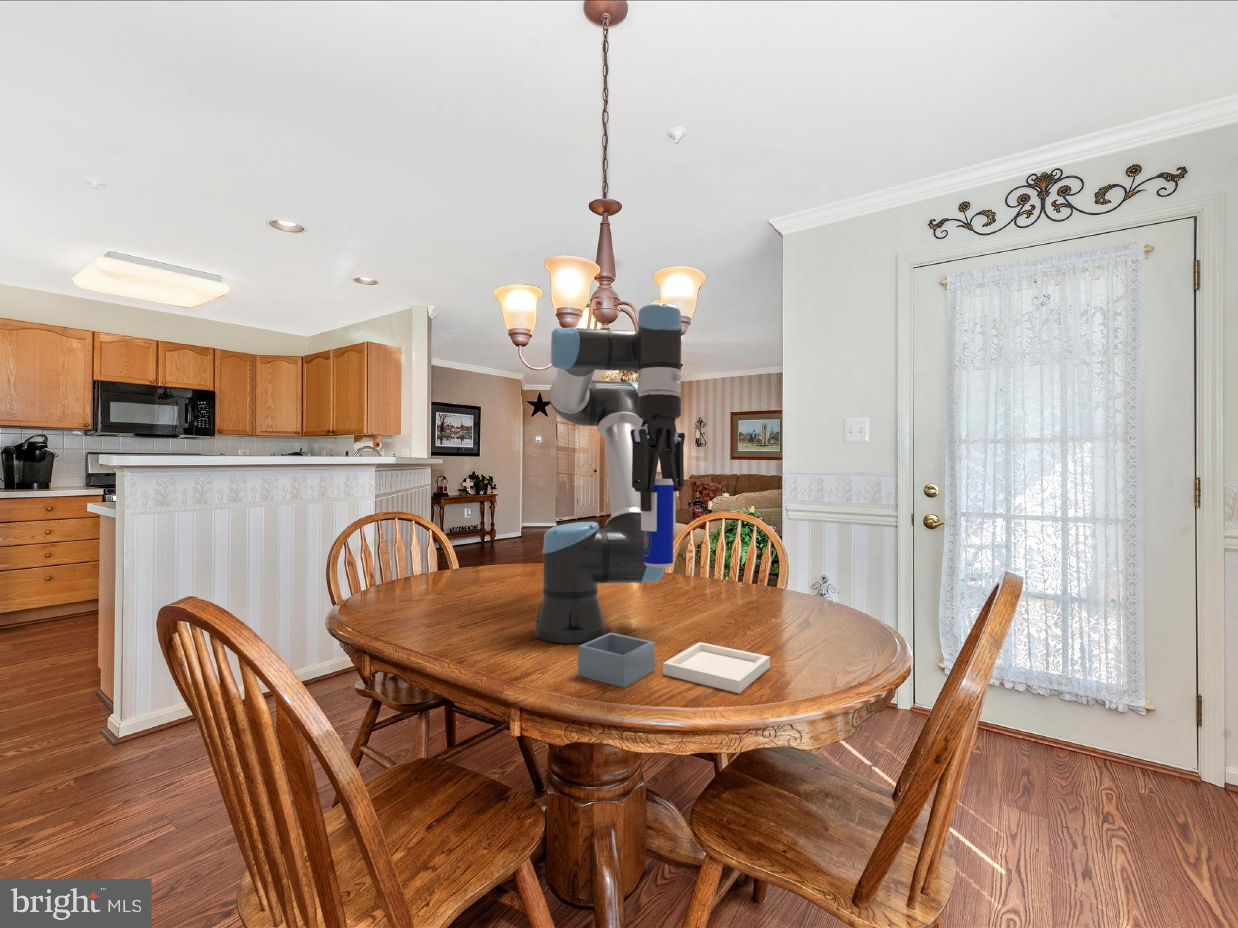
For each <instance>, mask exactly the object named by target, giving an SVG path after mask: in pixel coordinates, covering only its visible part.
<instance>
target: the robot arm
mask: <svg viewBox="0 0 1238 928" xmlns="http://www.w3.org/2000/svg"><path fill="white" fill-rule="evenodd" d="M681 312H682V311H681V310H680V309H679V307H677V306H676V305H674V304H670V303H651V304H647V305H646V304H645V305H644V306H642V307H641V308H639V311H638V316H637V323H636V326H637V330H627V329H626V330H622V329H621V330H620V329H602V328H601V329H598V328H584V327H583V328H581V327H580V328H579V327H573V326H570V327H557V328H554V329H553V330H552V332H551V339H550V340H551V341H550V363H551V366H552V367H553V368H555V369H557V371H556V372H557V373H556V378H555V380H554V381H553V383H552V384H551V386H550V389H549V393H548V394H549V395H548V396H549V398H548V399H549V403H550V405H551V407H552V409H553V410H554V412H556V414H557V415H558V416H560V417H561V418H562V419H564V420H565V421H566V422H569V423H571V424H574V425H578V426H582V427H583V426H584V427H586V426H587V427H597V431H598V434H599V435H600V436H601V437H602V438H603V439H604V446H605V457H606V458H605V459H606V467H607V468H606V469H607V480H608V481H607V482H608V492H609V506H610V507H609V508H610V518H608V519H607V521H606V522H605V524H604V525H605V526H604V527H605V528H600V526H599V523H598V522H595V521H578V522H577V521H576V522H569V523H565V524H564V523H563V524H559V525H556V526H553V527H550V528H548V529H547V530H546V531H545V533H544V536H543V549H542V552H541V553H542V554H543V566H542V567H543V569H542V570H543V576H542V577H543V580H542V582H543V583H542V600H541V603H540V605H539V608H538V612H537V615H536V619H535V621H534V628H533V629H534V636H535V638H537V639H539V640H542V641H545V642H550V643H556V644H557V643H558V644H583V643H587V642H589V641H592V640H594V639H596V638H599V637H601V636H603V635H606V628H607V627H606V626H607V625H606V620H605V618H604V614H603V610H602V606H601V604H600V603H601V602H600V600H599V596H598V586H599V584H622V583H623V584H626V583H627V584H629V583H630V584H632V583H634V584H635V583H640V584H644V583H650V582H657V581H659V580H660V579H661V578H662V577H663V575H664V573H665V570H666V567H661V568H658V567H648V566H646V565H645V564H644V562H643V536H644V531H657V493H655V492H653V490H654V485H655V479H657V478H656V477H657V470H658V467H659V466H658V465H660V472H661V473H660V475H661V479H672V481H673V485H674V490H673V530H674V529H675V530H676V522H677V521H676V520H677V519H676V515H677V514H676V513H677V512H676V510H677V509H676V507H677V492H682V490H683V487H684V485H685V483H684V481H685V479H684V478H685V476H684V474H685V471H684V470H685V469H684V468H685V467H684V461H685V459H684V446H685V439H686V434H685V432H679V431H677V427H676V419H680V417H681V415H682V398H681V397H680V395H679V394H681V392H682V389H681V388H682V384H681V380H682V374H681V370H682V330H683V325H682V314H681ZM595 371H624V372H625V371H626V372H627V371H628V372H629V371H630V372H632V373H635V374H637V382H636V381H629V380H623V381H611V380H592V379H593V377H594V374H595Z"/></svg>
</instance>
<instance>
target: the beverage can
mask: <svg viewBox="0 0 1238 928" xmlns="http://www.w3.org/2000/svg"><path fill="white" fill-rule="evenodd" d="M673 490H674V485H673V481H672V479H662V478H655V485H654V490H653V492H655V493H657V531H644V536H643V562H644V564H645V565H646V566H648V567H658V568H661V567H665V568H669V567H672V565H673V563H674V529H673Z"/></svg>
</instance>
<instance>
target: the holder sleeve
mask: <svg viewBox="0 0 1238 928" xmlns="http://www.w3.org/2000/svg"><path fill="white" fill-rule="evenodd" d="M655 645H656V642H655V641H650V640H646V639H642V638H638V637H633V636H629V635H624V634H619V633H615V632H608V633H605V635H603V636H601V637H599V638H596V639H594V640H592V641H589V642H584V643H581V644H580V645H577V648H578V649H577V676H579V677H583V678H587V679H590V680H594V681H598V682H601V683H605V684H609V685H612V686H615V687H619V688H623V689H625V688H627V687H629V686H630V685H632V684H634V683H636V682H637V681H639V680H641V679H642V678H644V677H646V676H647V675H649V674H651V673H652V672H654V671H655V664H656V662H655V656H656V655H655V654H656V653H655V651H656V650H655V649H656V646H655Z"/></svg>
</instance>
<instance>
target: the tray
mask: <svg viewBox="0 0 1238 928" xmlns="http://www.w3.org/2000/svg"><path fill="white" fill-rule="evenodd" d="M662 664H663V665H662V670H663V671H662V674H663V675H664V676H667V677H672V678H676V679H678V680H679V679H680V680H683V681H688V682H691V683H692V682H693V683H696V684H700V685H704V686H708V687H712V688H716V689H720V690H725V691H727V692H731V693H736V694H738V695H739V694H741V693H742V692H743V691H744V690H746V689H747V688H748V687H750V685H751V684H753V683H754V682H755V681H756V680H757V679H758V678H759V677H761V676H762V675H763V674H765V672H766V671H768V670H769V669H770V668H771V656H769V655H766V654H761V653H754V652H749V651H745V650H739V649H734V648H730V647H725V646H722V645H721V646H720V645H717V644H716V645H715V644H710V643H706V642H701V641H699V642H697V643H695V644H693V645H692V646H690V647H688V648H687V649H685V650H683V651H681V652H679V653H677V654H676V655H675V656H673V657H671V658H669V659H668V660H666V661H664V662H662Z"/></svg>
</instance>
